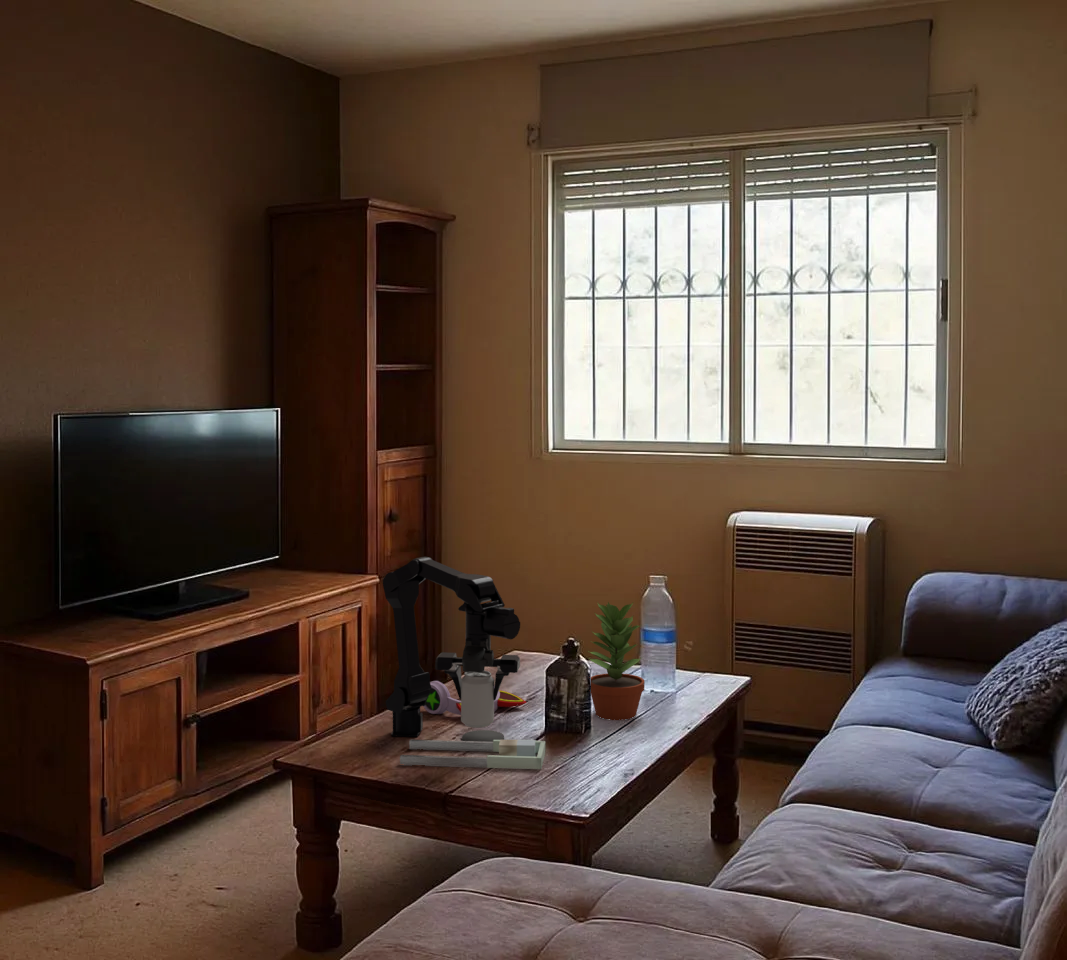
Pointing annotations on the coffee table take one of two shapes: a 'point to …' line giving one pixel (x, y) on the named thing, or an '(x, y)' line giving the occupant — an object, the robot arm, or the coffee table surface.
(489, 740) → the coaster
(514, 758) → the tray
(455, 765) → the channel
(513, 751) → the cream block
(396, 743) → the coffee table surface
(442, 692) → the headphones
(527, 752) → the grey-blue block
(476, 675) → the can
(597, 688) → the potted plant
